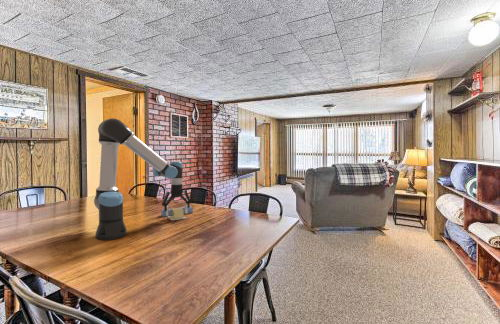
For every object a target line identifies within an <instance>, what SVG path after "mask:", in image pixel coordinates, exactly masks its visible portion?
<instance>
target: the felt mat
mask: <svg viewBox="0 0 500 324" xmlns="http://www.w3.org/2000/svg"><path fill="white" fill-rule="evenodd" d="M167 219H169V220H171V221H178V220H185V219H187V216H185V215H183V218H177V219H173V218H172V217H171V216H167Z"/></svg>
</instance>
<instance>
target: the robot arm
mask: <svg viewBox="0 0 500 324" xmlns="http://www.w3.org/2000/svg"><path fill="white" fill-rule="evenodd" d="M97 132H98V143H99V144H100V145H101V146H100V147H101V149H100V168H99V169H100V170H99V184H98V185H99V186H98V187H96V189H95V197H94V200H93V201H94V205H95V207H96V209H98V210H97V211H98V225H97V228H96V230H95V231H96V232H95V235H94V236H95V239H96V240H99V241H108V240H110V241H111V240H116V239H117V240H118V239H121V238H123V237H125V236H127V233H128V230H127V226H126V225H125V222H124V196H123V194H122V193H121V192H119V191H120V190H119V188H118V186H117V176H118V175H117V174H118V173H117V171H118V158H119V157H118V155H119V154H118V153H119V146H120V145H123V146H125V147H126V148H128V149H129V150H131V151H132V152H133V153H135V155H137V156H138V157H140V158H141V159H142V160H143V161H145V162H146V163H148V165H150V166H151V167H152V175H153V176H154V177H163V178H166V179H170V184H171V185H170V191H166V193H165V197H164V198H163V199H162V202H161V206H162V207H164V209H163V210H165V211H166V217H168V206H169V204H170V203H171V202H172V200H173V199H174V198H176V199H177V198H181V199H182V200H183V201H184V202H185V203H184V207H185V213H187V208H189V203H190V204H191V203H192V200H191V199H190V196H189V194H188V191H187V190H186V189H183V162H182V161H171V162H170V163H168V162H167V160H165V159H164V158H162V157H161V156H160V154H159V153H157V152H155V151H154V150H153V149H152V148H151V147H149V146H148V145H147V144H146V143H144V142H143V141H142V140H141V139H140V138H138V137H137V136H136V135H135V133H134V131H133V130H132V129H131V128H130V127H128V126H127V125H126V124H125V123H124V122H123V121H122V120H120V119H117V118H113V117H112V118H108V119H105V120H103V121H102V122H101V123H100V124H98V127H97ZM170 194H171V195H170ZM183 194H184V195H183ZM169 196H170V197H169ZM184 196H185V197H184ZM187 200H188V201H187ZM167 205H168V206H167Z"/></svg>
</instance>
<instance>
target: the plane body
mask: <svg viewBox="0 0 500 324" xmlns="http://www.w3.org/2000/svg"><path fill="white" fill-rule="evenodd" d="M186 200H187V199H186ZM187 201H188V200H187ZM167 206H168V216H171V209H172V208H170V207H169V204H168V205H167ZM179 208H181V209H183V215H186V214H187V215H188V214H192V213H194V208H193V206H191V203H189V208H187V213H185V206H182V207H179ZM160 210H161V211H160V214H161V217H163V218H164V217H168V216H166V211H165V210H164V209H160Z"/></svg>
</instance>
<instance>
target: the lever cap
mask: <svg viewBox="0 0 500 324" xmlns="http://www.w3.org/2000/svg"><path fill="white" fill-rule="evenodd" d="M170 209H171V217H172V218H173V219H177V218H183V216H184V214H183V209H181V208H180V207H175V208H173V207H172V208H170Z"/></svg>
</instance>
